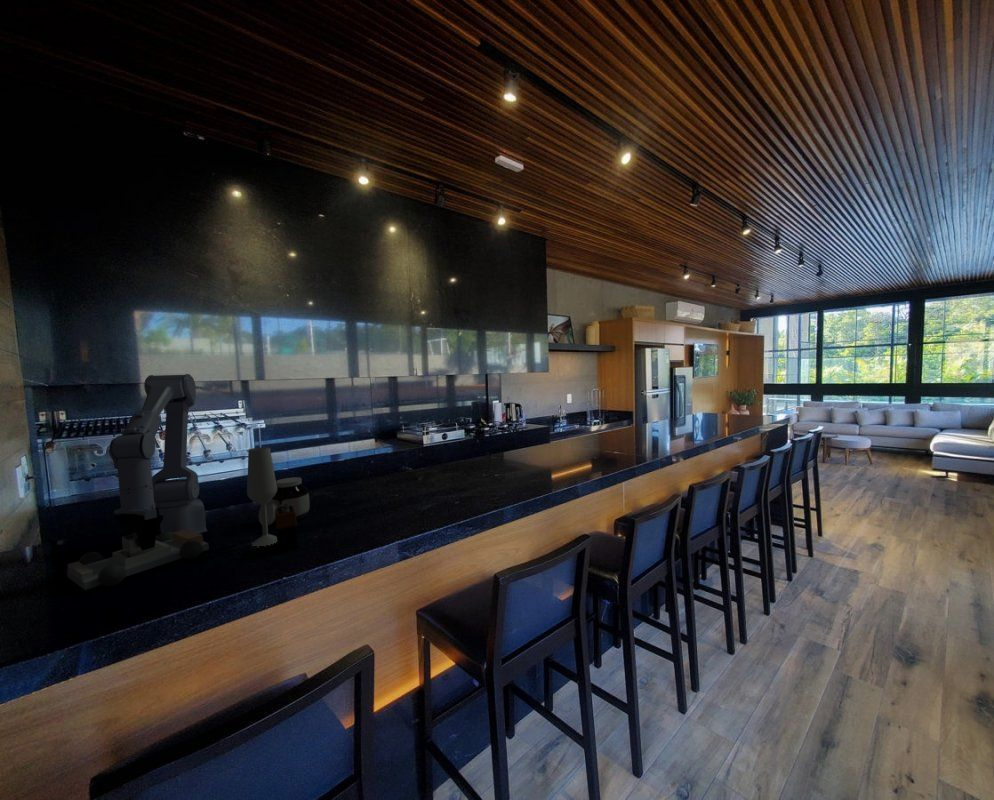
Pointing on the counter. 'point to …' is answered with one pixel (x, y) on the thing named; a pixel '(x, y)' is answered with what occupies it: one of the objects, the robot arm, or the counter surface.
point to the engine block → (133, 546)
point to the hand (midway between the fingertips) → (141, 545)
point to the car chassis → (135, 560)
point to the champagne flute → (261, 487)
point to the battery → (286, 527)
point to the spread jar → (288, 499)
